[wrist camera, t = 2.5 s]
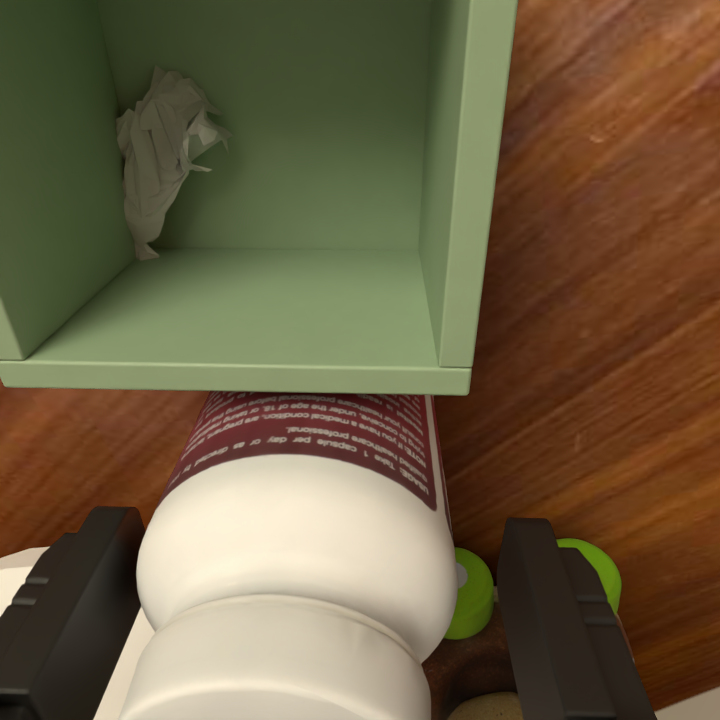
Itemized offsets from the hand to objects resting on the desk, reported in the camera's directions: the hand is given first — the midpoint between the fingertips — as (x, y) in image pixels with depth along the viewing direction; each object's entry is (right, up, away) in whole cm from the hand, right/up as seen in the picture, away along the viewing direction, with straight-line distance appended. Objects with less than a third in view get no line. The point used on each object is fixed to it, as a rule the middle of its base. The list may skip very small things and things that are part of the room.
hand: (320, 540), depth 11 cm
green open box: (-1, +10, +2) cm, 10 cm away
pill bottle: (0, +4, +6) cm, 7 cm away
